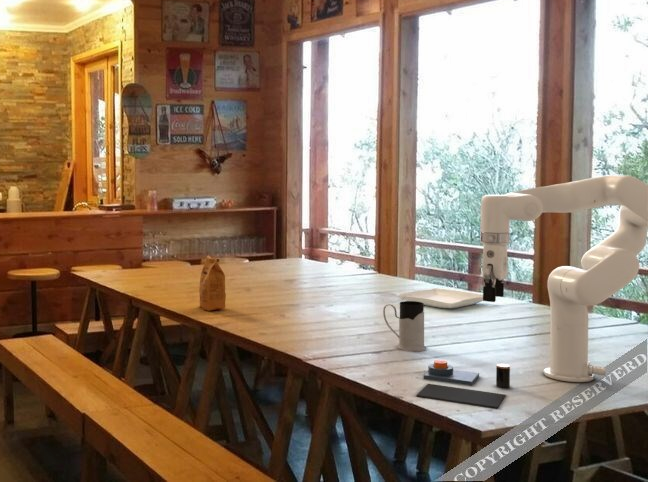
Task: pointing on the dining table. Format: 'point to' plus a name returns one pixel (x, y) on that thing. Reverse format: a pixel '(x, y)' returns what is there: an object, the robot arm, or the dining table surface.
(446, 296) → the square plate
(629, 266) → the robot arm
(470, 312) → the dining table surface
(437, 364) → the button
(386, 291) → the dining table surface
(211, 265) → the coffee package
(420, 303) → the glass holder
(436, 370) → the grey button base
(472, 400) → the desk pad
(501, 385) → the battery
